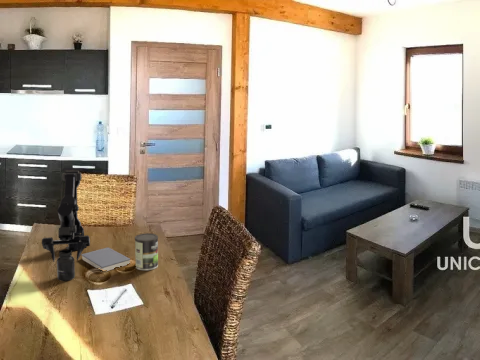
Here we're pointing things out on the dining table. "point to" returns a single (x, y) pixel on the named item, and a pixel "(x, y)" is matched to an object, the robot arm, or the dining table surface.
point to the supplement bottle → (65, 266)
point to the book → (105, 259)
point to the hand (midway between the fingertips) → (65, 260)
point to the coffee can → (146, 251)
